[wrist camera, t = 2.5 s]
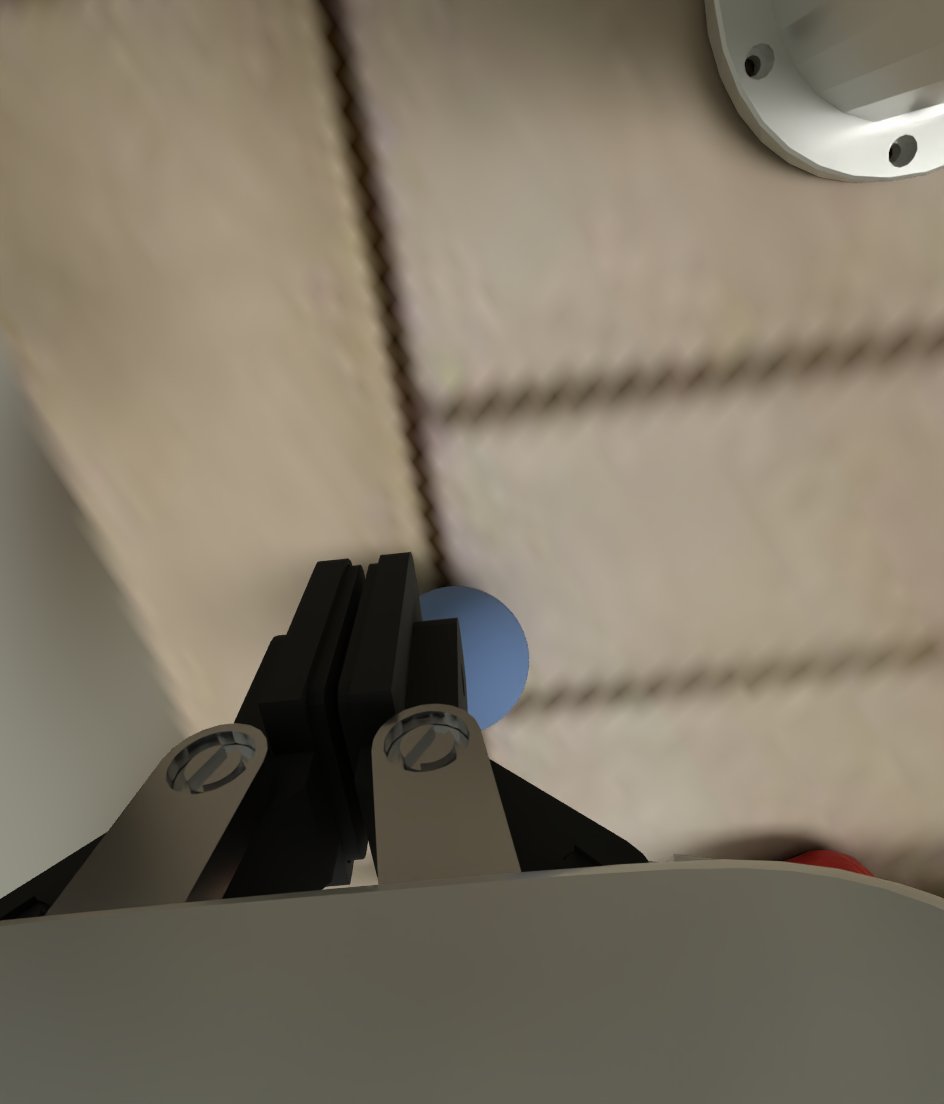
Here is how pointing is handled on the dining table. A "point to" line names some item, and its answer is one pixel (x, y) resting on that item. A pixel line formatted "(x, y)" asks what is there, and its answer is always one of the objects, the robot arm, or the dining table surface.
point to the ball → (484, 648)
